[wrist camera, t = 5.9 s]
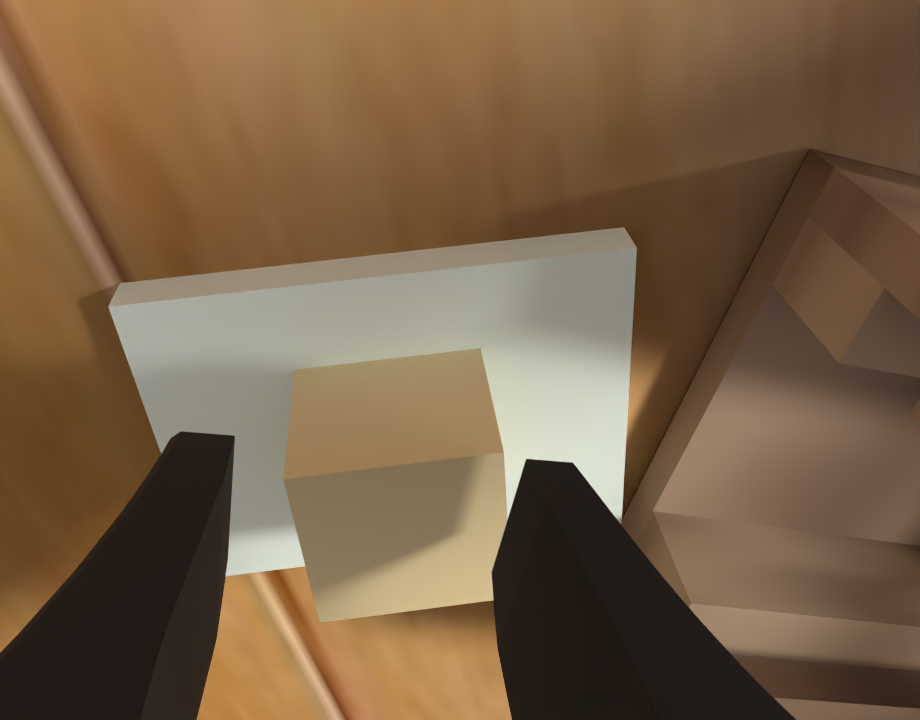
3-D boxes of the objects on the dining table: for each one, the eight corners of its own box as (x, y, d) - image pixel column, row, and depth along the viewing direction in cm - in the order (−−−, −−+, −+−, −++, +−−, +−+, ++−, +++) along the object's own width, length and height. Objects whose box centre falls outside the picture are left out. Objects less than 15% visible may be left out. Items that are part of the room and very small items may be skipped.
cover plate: (617, 215, 14) (693, 338, 11) (606, 483, 17) (661, 638, 14) (126, 269, 13) (56, 413, 10) (214, 532, 17) (182, 701, 14)
